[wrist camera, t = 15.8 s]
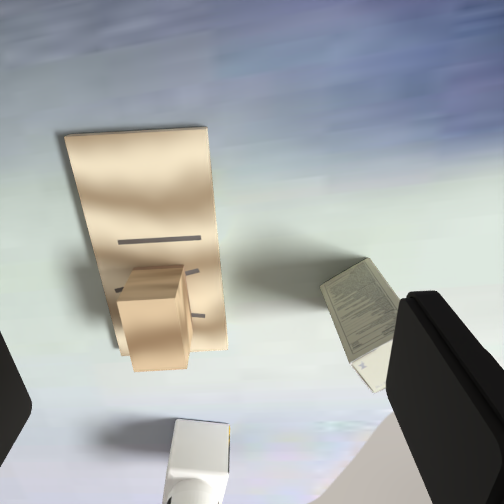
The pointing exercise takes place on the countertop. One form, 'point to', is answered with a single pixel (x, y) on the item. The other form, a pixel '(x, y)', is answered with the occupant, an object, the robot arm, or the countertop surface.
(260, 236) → the countertop surface
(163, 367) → the block
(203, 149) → the board
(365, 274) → the skincare box
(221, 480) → the medicine bottle
